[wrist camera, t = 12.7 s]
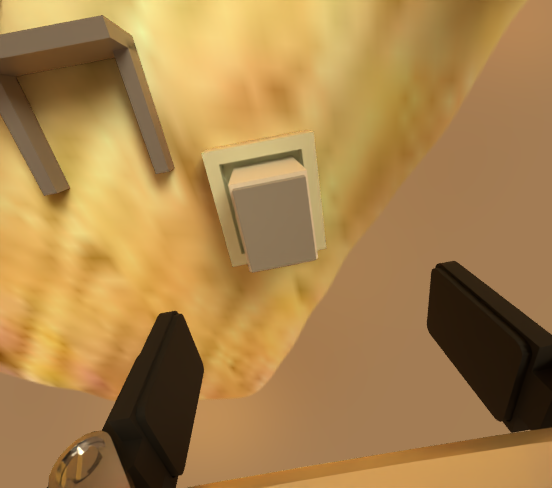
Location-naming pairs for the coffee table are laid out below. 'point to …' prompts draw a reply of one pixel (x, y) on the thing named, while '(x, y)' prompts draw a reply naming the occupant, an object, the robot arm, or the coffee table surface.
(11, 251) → the coffee table surface
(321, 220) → the tray
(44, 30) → the bay
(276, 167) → the capped cream block
